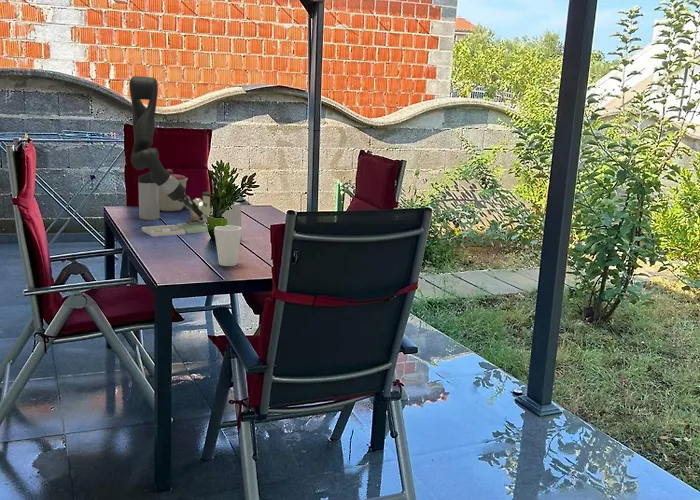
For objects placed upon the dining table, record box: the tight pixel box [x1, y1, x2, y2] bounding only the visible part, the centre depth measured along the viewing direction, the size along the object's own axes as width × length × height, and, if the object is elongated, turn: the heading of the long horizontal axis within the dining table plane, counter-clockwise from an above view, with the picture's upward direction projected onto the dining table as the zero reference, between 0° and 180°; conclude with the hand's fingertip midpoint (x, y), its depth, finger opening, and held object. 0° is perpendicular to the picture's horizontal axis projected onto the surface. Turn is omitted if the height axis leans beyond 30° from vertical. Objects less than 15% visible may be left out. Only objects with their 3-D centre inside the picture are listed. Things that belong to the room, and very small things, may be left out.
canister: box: [159, 168, 189, 212], centre depth 336 cm, size 18×18×21 cm
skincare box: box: [222, 202, 243, 241], centre depth 271 cm, size 8×7×16 cm
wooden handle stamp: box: [185, 199, 204, 225], centre depth 284 cm, size 6×6×10 cm
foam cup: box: [213, 225, 243, 267], centre depth 232 cm, size 10×9×13 cm
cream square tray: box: [141, 224, 187, 237], centre depth 278 cm, size 14×14×2 cm
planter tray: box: [176, 222, 209, 234], centre depth 286 cm, size 12×12×3 cm
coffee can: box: [202, 190, 213, 223], centre depth 309 cm, size 10×10×14 cm
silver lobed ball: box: [189, 197, 203, 220], centre depth 318 cm, size 9×10×10 cm
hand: (199, 214), depth 285 cm, fingers closed on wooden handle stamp, 3 cm apart
